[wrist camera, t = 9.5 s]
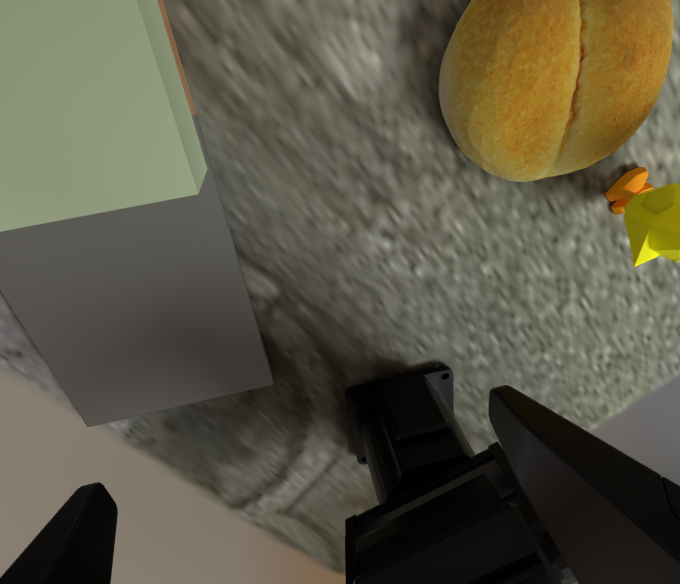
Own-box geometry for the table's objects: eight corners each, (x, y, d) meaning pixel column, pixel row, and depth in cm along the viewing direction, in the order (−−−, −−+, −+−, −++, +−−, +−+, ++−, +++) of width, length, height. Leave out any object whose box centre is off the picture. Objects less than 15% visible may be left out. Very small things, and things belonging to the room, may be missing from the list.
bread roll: (434, -32, 16) (483, -53, 13) (649, -47, 17) (748, -70, 14) (428, 185, 20) (463, 213, 17) (601, 163, 21) (667, 185, 18)
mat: (273, 378, 24) (274, 384, 24) (90, 420, 23) (87, 427, 23) (195, 112, 17) (194, 114, 16) (-73, 159, 16) (-82, 162, 16)
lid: (207, 168, 15) (198, 194, 13) (15, 204, 15) (-35, 238, 12) (79, -260, 10) (20, -364, 7) (-224, -230, 9) (-400, -331, 7)
